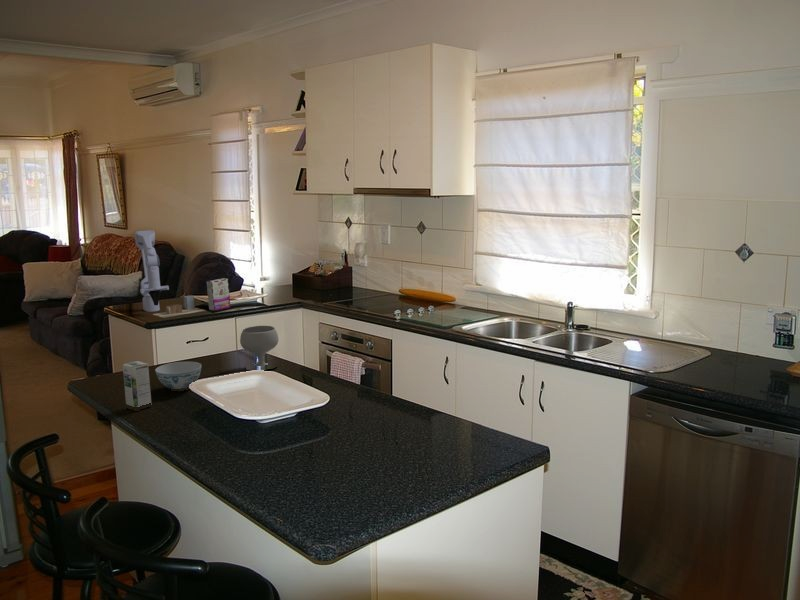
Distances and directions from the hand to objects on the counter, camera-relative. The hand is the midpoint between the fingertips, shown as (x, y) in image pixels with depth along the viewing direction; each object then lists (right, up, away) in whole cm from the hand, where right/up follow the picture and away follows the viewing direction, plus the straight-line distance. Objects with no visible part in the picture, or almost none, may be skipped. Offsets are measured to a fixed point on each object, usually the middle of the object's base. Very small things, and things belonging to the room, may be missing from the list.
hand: (156, 305), depth 363 cm
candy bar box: (+28, -3, +17) cm, 33 cm away
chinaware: (+51, -28, -124) cm, 137 cm away
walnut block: (+5, -3, +5) cm, 7 cm away
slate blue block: (+12, -2, +17) cm, 21 cm away
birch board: (+9, -5, +9) cm, 14 cm away
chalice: (+74, -23, -100) cm, 127 cm away
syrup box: (+44, -32, -142) cm, 152 cm away
